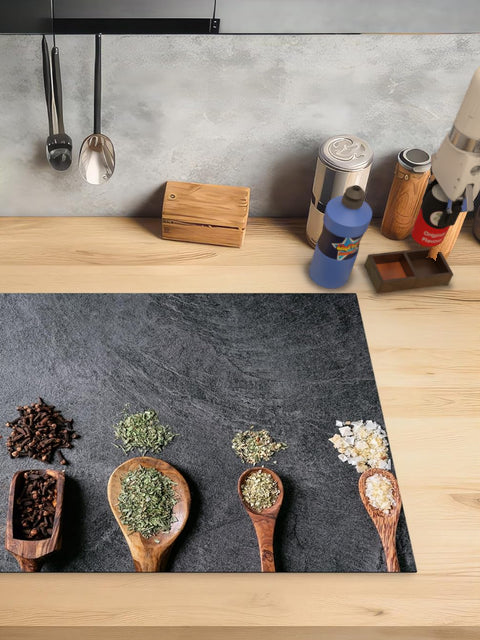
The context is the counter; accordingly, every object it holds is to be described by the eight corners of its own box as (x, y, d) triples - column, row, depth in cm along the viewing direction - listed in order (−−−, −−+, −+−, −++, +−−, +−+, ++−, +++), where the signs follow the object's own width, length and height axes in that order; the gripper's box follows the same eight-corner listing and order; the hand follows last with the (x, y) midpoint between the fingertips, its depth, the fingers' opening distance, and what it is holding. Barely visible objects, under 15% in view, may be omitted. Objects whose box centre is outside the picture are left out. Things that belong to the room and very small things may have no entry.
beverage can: (402, 236, 147) (421, 189, 138) (424, 223, 150) (444, 176, 140) (427, 254, 144) (448, 208, 135) (448, 240, 146) (471, 194, 137)
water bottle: (356, 285, 164) (388, 200, 144) (316, 292, 163) (343, 207, 143) (340, 255, 170) (369, 169, 149) (302, 262, 169) (325, 176, 148)
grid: (433, 257, 169) (438, 246, 166) (447, 285, 164) (453, 274, 161) (364, 265, 168) (368, 254, 165) (376, 293, 163) (381, 282, 160)
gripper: (516, 164, 122) (475, 241, 137) (471, 102, 132) (437, 180, 147) (474, 169, 122) (437, 246, 136) (431, 107, 132) (401, 185, 146)
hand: (437, 211), depth 141 cm, fingers closed on beverage can, 6 cm apart
